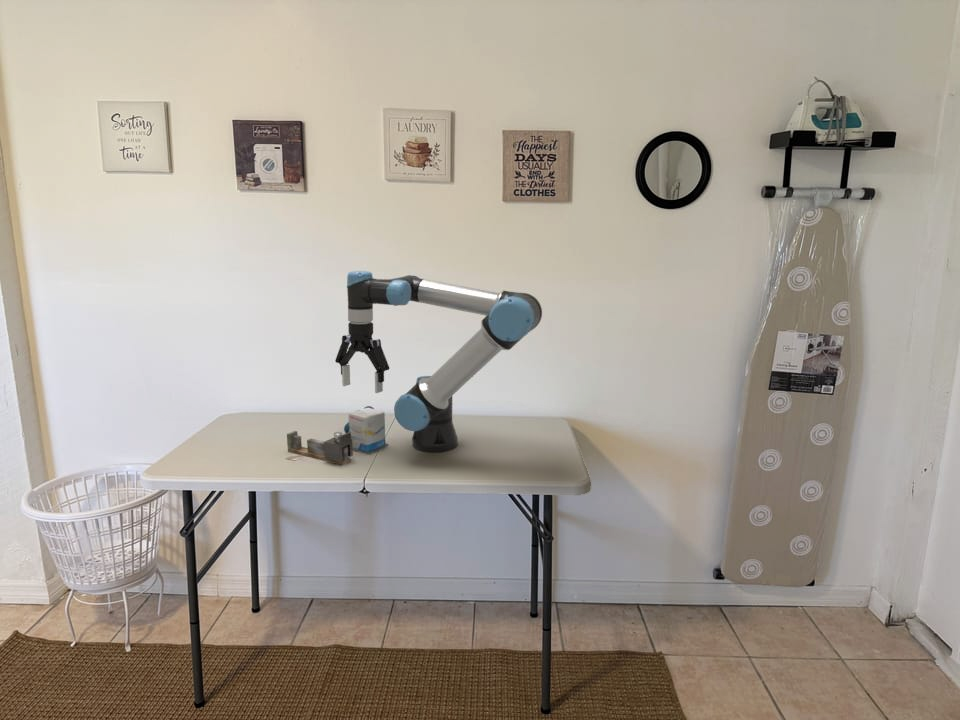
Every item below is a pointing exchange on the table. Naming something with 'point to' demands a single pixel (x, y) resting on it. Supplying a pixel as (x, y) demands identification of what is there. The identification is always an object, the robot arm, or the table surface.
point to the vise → (310, 449)
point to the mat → (369, 451)
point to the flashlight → (348, 422)
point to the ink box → (367, 429)
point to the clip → (338, 446)
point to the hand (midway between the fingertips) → (362, 388)
